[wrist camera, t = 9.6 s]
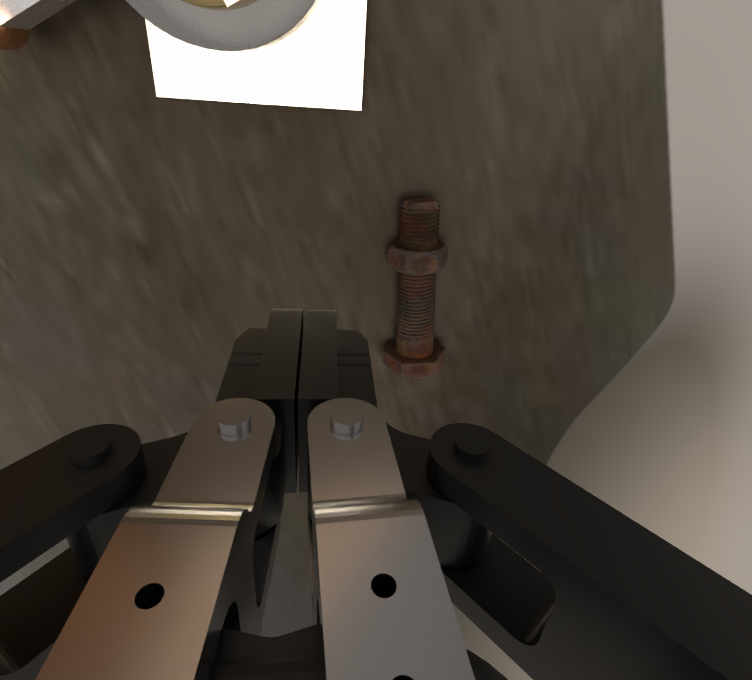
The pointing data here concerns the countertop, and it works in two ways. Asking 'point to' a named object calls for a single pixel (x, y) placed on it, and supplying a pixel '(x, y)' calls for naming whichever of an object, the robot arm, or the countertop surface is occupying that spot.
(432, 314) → the bolt
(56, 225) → the countertop surface
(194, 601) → the robot arm
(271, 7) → the cap housing
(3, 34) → the yellow disc with lever
